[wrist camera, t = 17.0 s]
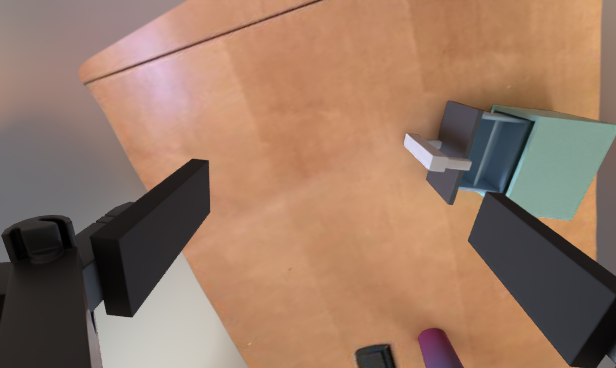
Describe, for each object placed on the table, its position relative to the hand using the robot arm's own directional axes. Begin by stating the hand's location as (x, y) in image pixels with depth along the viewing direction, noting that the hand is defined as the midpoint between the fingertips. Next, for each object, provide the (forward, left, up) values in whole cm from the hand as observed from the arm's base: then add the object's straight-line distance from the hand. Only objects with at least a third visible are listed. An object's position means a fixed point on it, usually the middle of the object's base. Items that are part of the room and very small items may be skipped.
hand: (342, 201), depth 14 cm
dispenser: (-10, +23, -27) cm, 37 cm away
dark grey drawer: (-6, +15, -26) cm, 31 cm away
